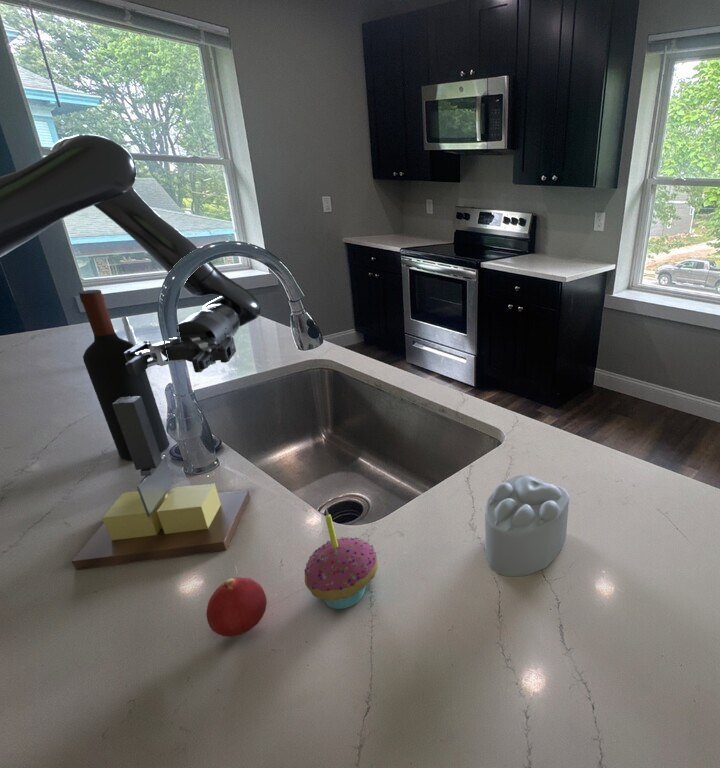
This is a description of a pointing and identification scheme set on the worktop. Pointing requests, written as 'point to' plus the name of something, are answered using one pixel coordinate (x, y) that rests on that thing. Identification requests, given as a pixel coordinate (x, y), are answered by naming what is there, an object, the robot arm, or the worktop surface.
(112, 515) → the butter
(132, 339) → the screw
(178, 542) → the butter board
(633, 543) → the worktop surface
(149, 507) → the knife
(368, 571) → the cupcake
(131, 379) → the wine bottle
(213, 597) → the onion
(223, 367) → the worktop surface
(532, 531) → the lumpy-topped squat cylinder
